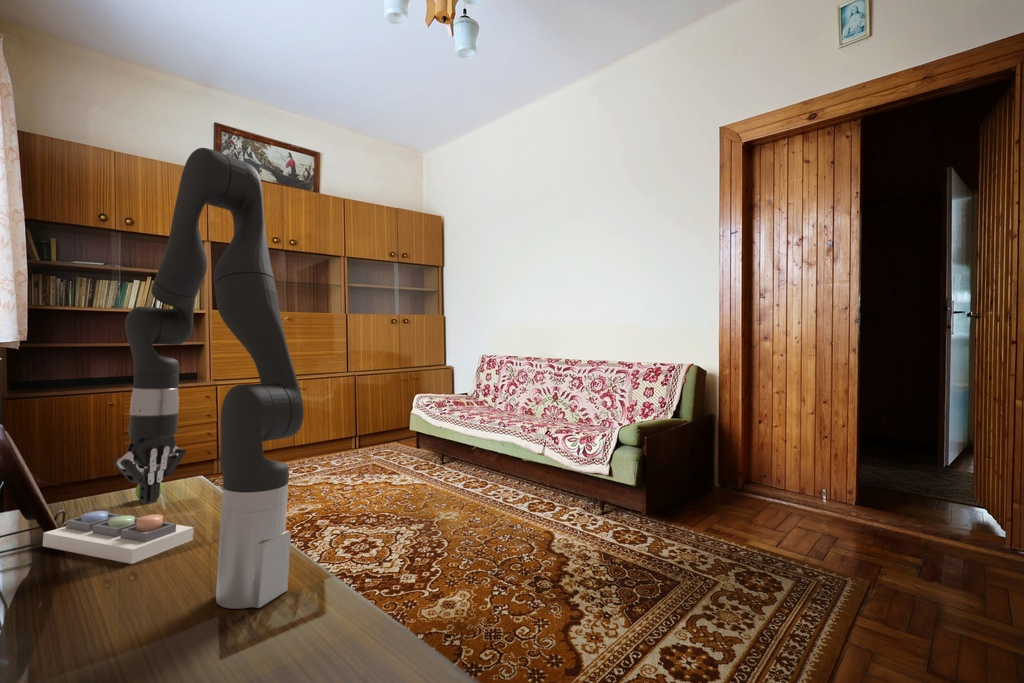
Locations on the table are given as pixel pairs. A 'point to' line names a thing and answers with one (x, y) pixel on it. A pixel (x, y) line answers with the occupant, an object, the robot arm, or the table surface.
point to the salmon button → (149, 523)
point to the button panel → (116, 539)
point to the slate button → (94, 516)
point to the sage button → (121, 521)
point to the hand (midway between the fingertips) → (149, 503)
